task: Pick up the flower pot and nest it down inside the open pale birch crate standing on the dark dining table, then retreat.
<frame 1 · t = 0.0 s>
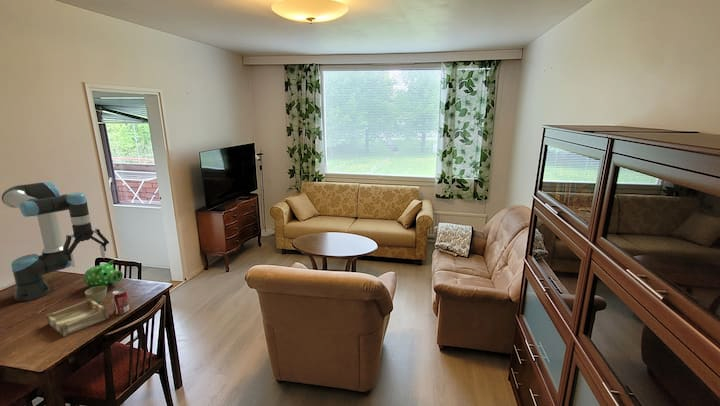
hand: (88, 261, 180), 28 cm above the table, fingers open, 13 cm apart
piggy bank: (104, 286, 211), on the table
flower pot: (98, 301, 195), on the table
crate: (79, 320, 176), on the table
soda can: (122, 312, 185), on the table
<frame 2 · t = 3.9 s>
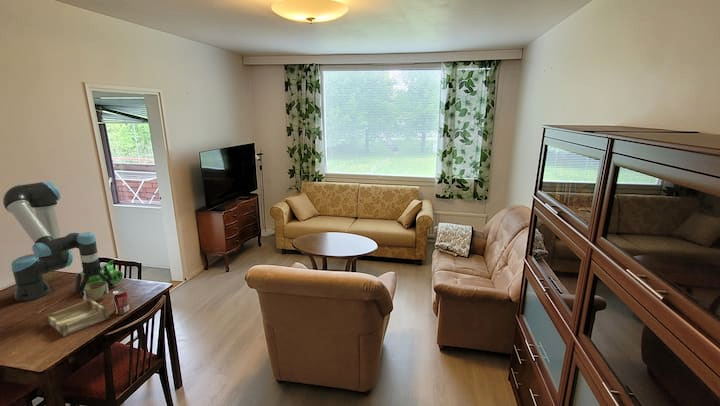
hand: (96, 296, 194), 3 cm above the table, fingers closed on flower pot, 10 cm apart
flower pot: (96, 297, 194), point 2 cm above the table, touching gripper
everything else where it was.
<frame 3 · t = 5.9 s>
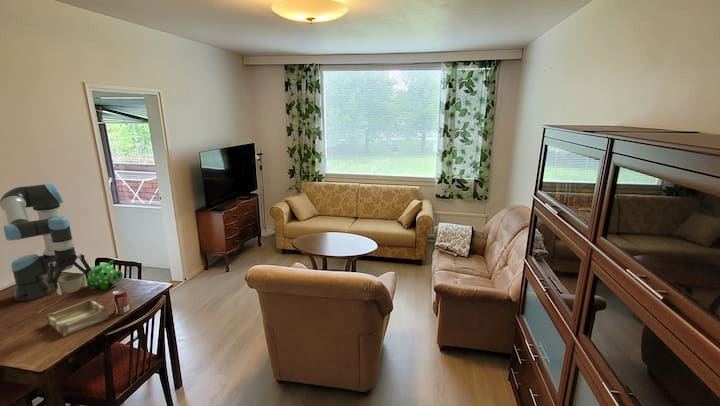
hand: (72, 289, 172), 18 cm above the table, fingers closed on flower pot, 10 cm apart
flower pot: (73, 290, 172), point 17 cm above the table, touching gripper
everything else where it was.
when the fingers open (3 cm above the table, at t = 8.2 s): flower pot drops 2 cm, resting on crate.
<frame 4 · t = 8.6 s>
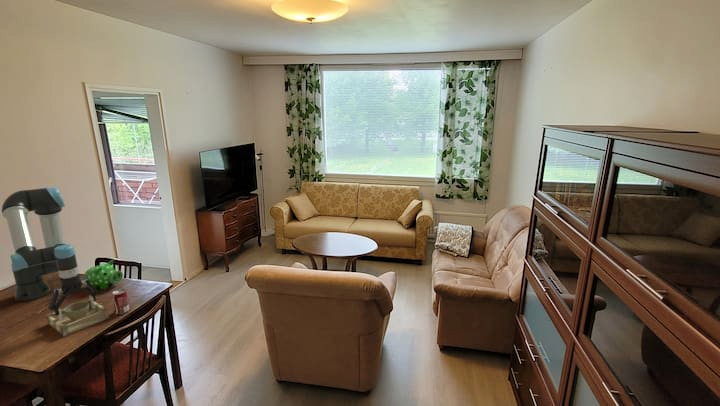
hand: (77, 313, 175), 4 cm above the table, fingers open, 13 cm apart
flower pot: (79, 319, 176), point 1 cm above the table, touching crate
everything else where it was.
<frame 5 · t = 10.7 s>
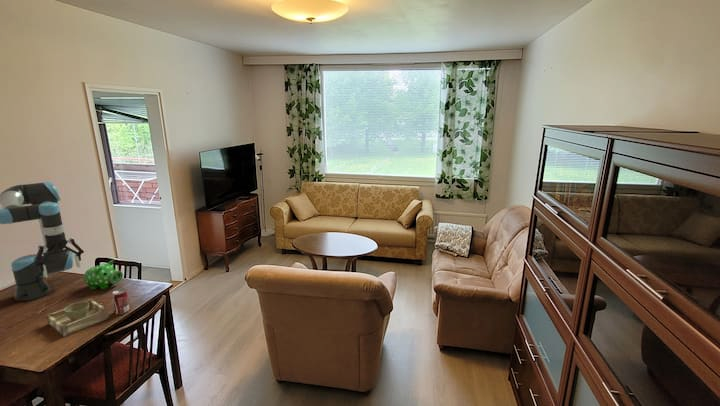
hand: (62, 271, 177), 24 cm above the table, fingers open, 13 cm apart
nothing on the table moved.
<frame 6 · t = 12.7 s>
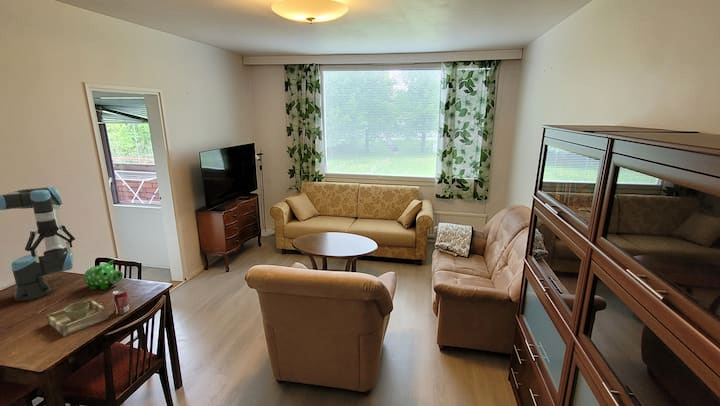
hand: (54, 257, 183), 29 cm above the table, fingers open, 13 cm apart
nothing on the table moved.
at the end: flower pot inside the target area on the crate (0.4 cm from its centre), point 0.8 cm above the crate's base; flower pot tilted 0°; the gripper is holding nothing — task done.
